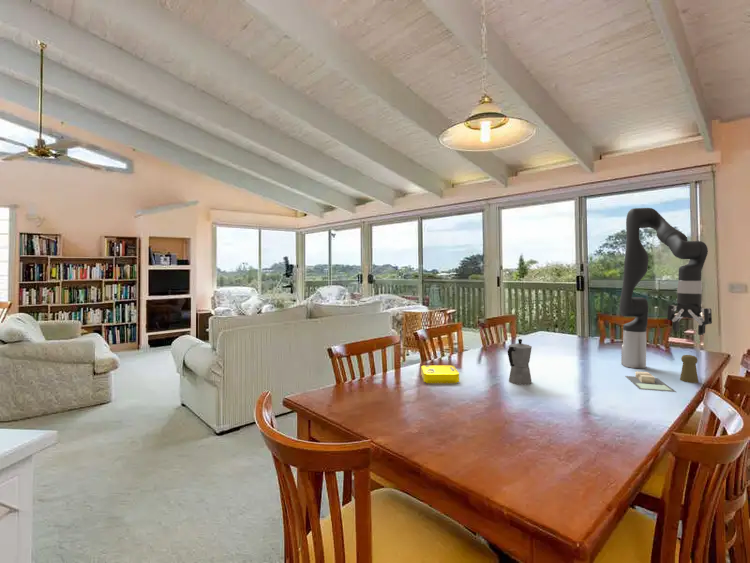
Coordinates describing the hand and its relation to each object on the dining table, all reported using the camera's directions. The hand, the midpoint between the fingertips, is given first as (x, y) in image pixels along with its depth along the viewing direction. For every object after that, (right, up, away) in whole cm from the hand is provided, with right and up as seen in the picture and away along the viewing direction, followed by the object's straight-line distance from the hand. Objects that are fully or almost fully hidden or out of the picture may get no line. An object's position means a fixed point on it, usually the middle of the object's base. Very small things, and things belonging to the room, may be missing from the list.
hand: (688, 332), depth 154 cm
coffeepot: (-64, -22, +10) cm, 68 cm away
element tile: (-96, -23, +17) cm, 100 cm away
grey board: (-13, -22, +4) cm, 25 cm away
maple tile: (-11, -21, +9) cm, 25 cm away
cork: (+6, -21, +8) cm, 24 cm away
